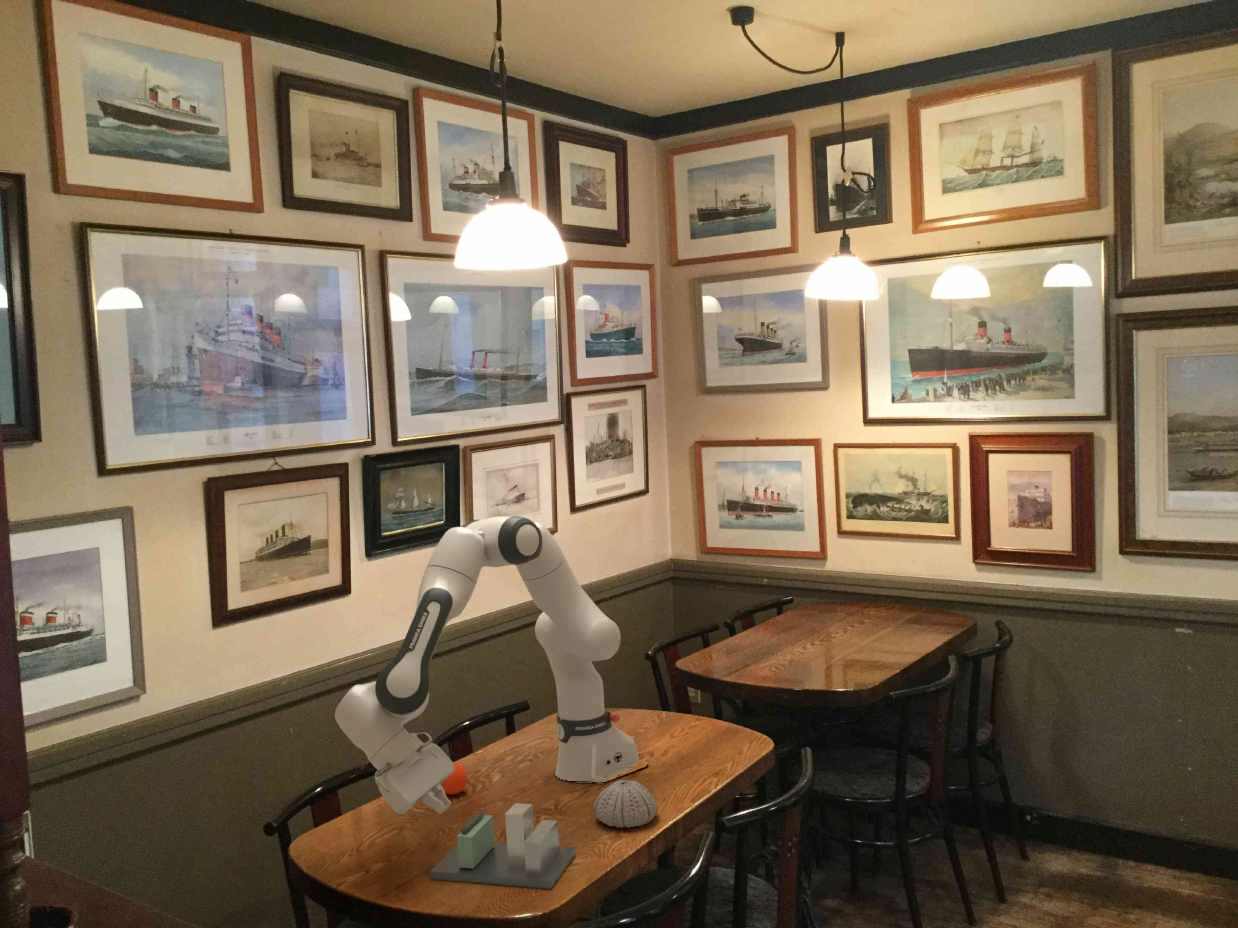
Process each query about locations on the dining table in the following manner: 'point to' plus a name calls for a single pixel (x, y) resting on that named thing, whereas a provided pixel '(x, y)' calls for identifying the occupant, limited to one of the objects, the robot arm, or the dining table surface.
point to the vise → (539, 870)
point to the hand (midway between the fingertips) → (446, 808)
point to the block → (518, 832)
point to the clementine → (455, 780)
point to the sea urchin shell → (625, 804)
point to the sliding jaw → (475, 840)
